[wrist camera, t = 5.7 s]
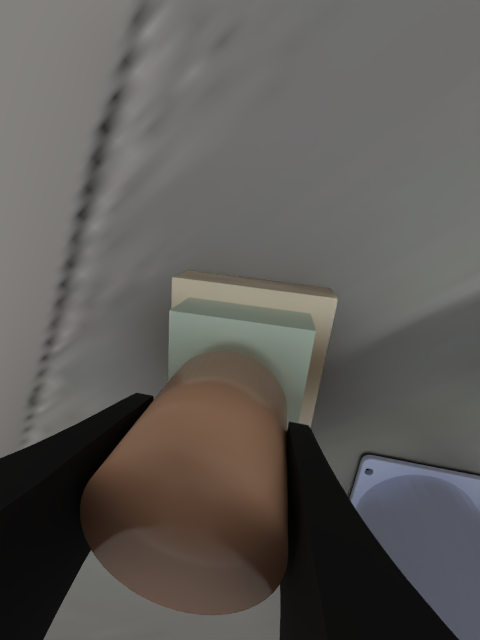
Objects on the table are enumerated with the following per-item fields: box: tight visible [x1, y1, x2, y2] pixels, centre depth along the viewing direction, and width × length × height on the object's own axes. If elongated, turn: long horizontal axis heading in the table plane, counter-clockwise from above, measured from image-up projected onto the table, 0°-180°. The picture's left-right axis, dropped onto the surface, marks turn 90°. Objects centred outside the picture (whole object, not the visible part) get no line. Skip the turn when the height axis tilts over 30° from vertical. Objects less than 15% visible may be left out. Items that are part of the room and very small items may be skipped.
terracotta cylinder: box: [80, 351, 288, 615], centre depth 8 cm, size 5×5×5 cm
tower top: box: [168, 297, 316, 429], centre depth 14 cm, size 6×6×2 cm
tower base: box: [171, 271, 338, 428], centre depth 16 cm, size 8×8×3 cm
